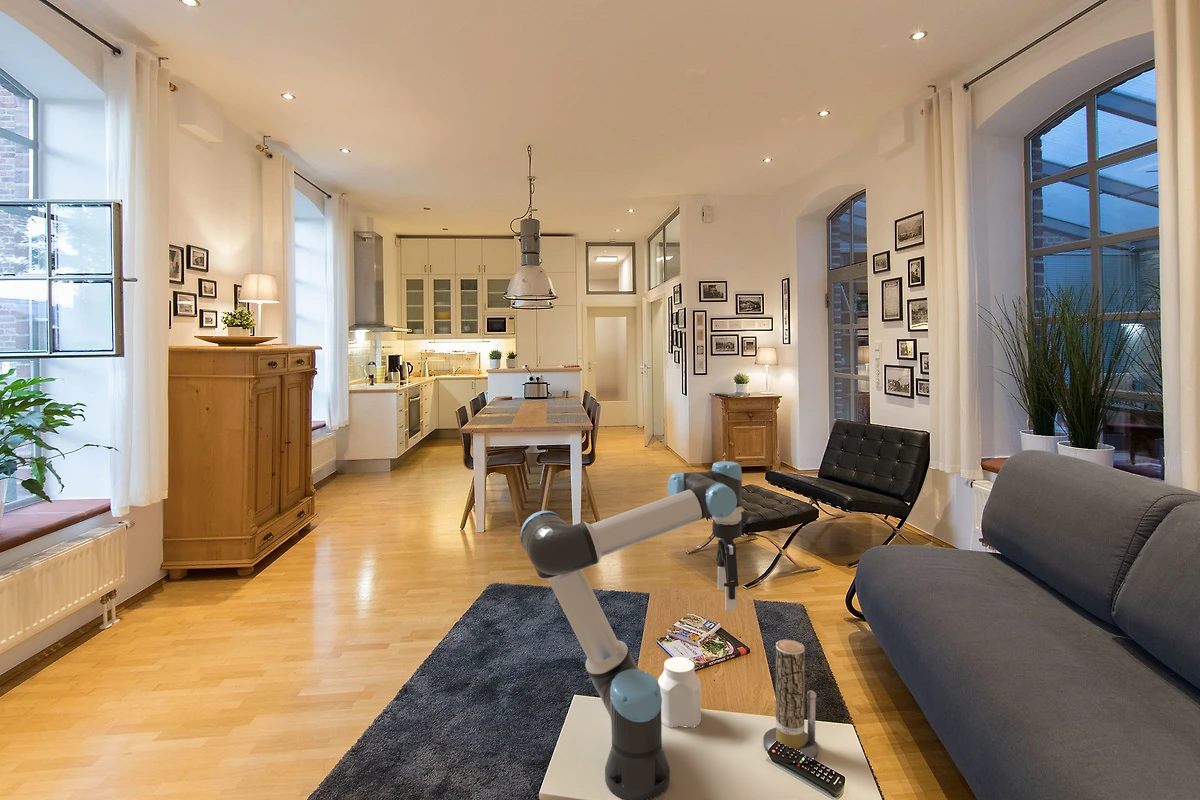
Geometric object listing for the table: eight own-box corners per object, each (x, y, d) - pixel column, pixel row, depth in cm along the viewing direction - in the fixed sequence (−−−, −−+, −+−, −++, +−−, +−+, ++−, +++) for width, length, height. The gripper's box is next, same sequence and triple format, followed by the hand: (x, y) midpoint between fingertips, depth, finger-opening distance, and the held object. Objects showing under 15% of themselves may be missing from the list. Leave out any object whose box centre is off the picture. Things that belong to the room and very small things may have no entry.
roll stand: (771, 764, 146) (771, 706, 145) (757, 731, 159) (757, 678, 158) (825, 763, 146) (825, 705, 145) (807, 730, 159) (807, 677, 158)
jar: (659, 727, 162) (658, 673, 161) (657, 707, 171) (657, 655, 170) (703, 728, 161) (702, 673, 160) (699, 707, 171) (698, 655, 170)
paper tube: (805, 752, 148) (806, 653, 147) (777, 749, 150) (777, 651, 148) (802, 735, 155) (802, 640, 153) (774, 732, 157) (774, 638, 155)
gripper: (750, 534, 147) (750, 620, 148) (733, 509, 172) (733, 582, 173) (719, 534, 147) (719, 619, 149) (706, 509, 172) (706, 582, 174)
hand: (726, 600), depth 161 cm, fingers open, 13 cm apart
